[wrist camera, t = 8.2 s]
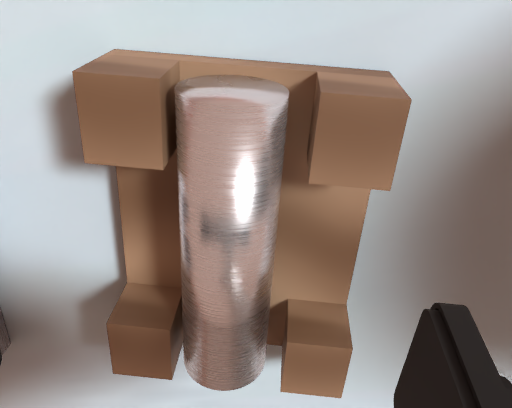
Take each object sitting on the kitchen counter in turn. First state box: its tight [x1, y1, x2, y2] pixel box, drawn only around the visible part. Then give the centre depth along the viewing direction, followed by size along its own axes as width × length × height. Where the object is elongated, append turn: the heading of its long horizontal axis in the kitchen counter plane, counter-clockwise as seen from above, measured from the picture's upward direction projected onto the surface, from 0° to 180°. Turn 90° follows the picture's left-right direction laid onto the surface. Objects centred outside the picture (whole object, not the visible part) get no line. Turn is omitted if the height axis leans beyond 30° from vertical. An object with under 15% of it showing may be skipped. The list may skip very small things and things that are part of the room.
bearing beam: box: [72, 49, 411, 398], centre depth 15 cm, size 11×8×3 cm
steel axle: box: [175, 75, 289, 391], centre depth 14 cm, size 10×3×3 cm, turn 177°
